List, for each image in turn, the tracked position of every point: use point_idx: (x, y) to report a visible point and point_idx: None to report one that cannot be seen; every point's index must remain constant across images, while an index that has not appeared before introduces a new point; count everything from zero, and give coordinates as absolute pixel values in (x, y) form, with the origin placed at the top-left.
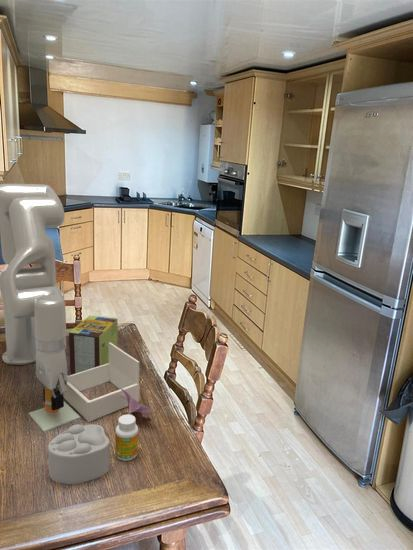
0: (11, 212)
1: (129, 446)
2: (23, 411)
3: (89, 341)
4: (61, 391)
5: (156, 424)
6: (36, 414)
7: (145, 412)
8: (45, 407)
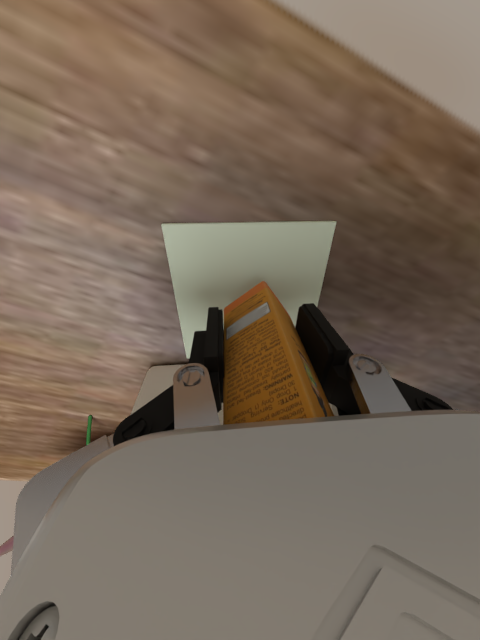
0: None
1: None
2: (371, 208)
3: None
4: (44, 489)
5: None
6: (300, 246)
7: None
8: (265, 290)
